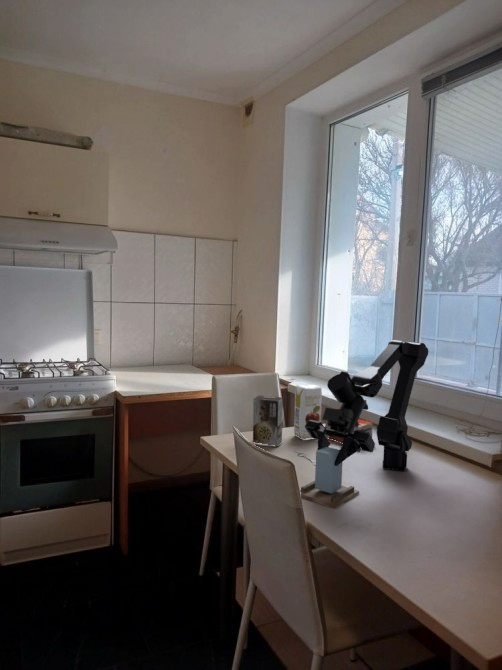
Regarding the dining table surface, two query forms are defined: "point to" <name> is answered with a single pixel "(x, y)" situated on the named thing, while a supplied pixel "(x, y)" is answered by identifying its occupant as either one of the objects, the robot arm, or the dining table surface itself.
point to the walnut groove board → (328, 495)
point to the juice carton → (306, 408)
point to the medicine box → (362, 427)
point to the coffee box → (267, 420)
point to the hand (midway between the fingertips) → (326, 462)
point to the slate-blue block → (327, 470)
